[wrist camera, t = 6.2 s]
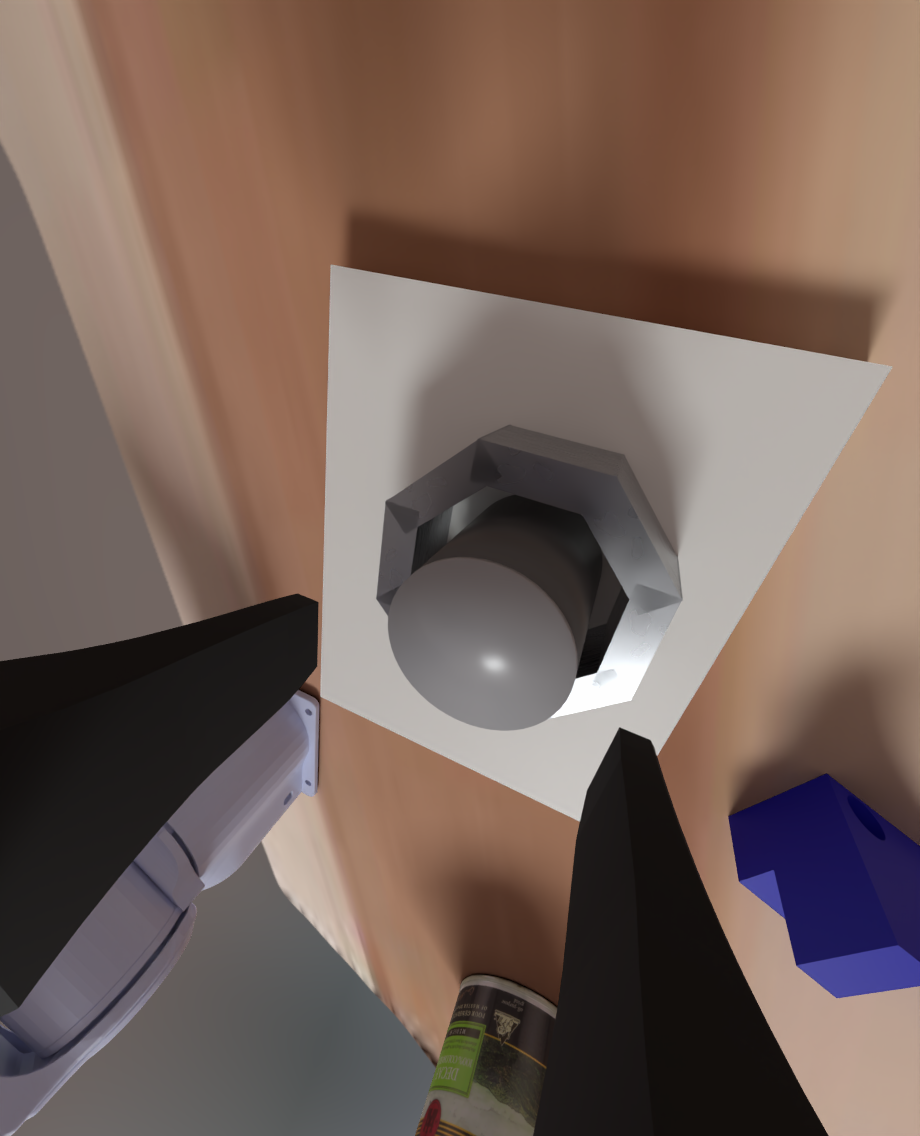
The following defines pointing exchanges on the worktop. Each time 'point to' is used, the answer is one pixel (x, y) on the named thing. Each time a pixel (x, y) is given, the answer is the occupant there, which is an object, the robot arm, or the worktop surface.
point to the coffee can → (490, 1062)
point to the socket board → (563, 495)
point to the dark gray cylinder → (500, 615)
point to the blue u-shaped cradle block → (835, 885)
